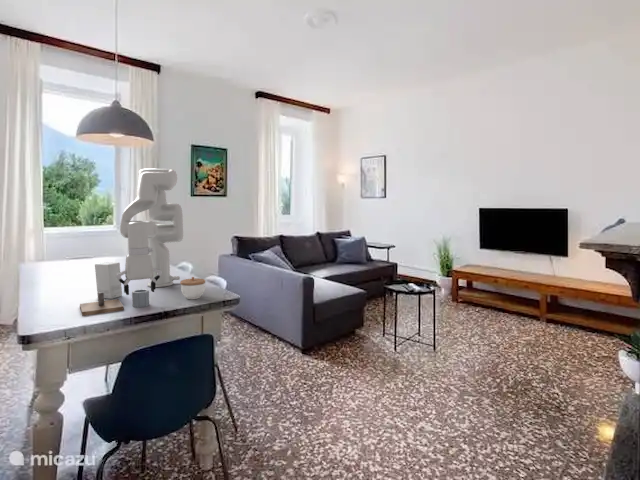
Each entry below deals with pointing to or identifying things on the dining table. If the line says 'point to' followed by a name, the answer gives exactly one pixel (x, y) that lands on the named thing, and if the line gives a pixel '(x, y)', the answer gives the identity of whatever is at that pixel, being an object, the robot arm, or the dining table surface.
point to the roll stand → (101, 306)
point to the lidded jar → (193, 287)
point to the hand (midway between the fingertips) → (140, 292)
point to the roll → (140, 298)
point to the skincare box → (108, 279)
